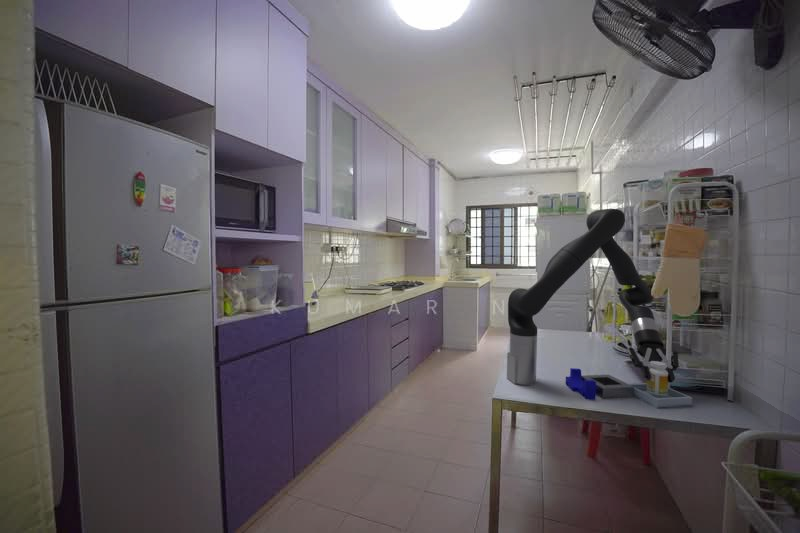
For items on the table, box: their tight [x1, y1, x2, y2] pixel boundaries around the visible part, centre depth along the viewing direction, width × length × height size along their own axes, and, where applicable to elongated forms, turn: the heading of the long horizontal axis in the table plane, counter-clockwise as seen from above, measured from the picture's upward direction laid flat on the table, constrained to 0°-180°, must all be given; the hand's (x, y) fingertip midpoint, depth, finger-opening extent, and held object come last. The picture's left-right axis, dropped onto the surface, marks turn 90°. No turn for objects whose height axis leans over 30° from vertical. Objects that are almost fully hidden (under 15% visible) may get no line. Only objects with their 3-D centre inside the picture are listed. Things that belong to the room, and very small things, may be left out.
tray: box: [628, 382, 693, 409], centre depth 108 cm, size 12×12×3 cm
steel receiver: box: [581, 374, 635, 400], centre depth 113 cm, size 11×11×4 cm
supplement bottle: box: [646, 361, 669, 396], centre depth 108 cm, size 5×5×10 cm
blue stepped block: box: [565, 367, 596, 401], centre depth 113 cm, size 12×4×6 cm, turn 175°
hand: (659, 380), depth 106 cm, fingers closed on supplement bottle, 5 cm apart
